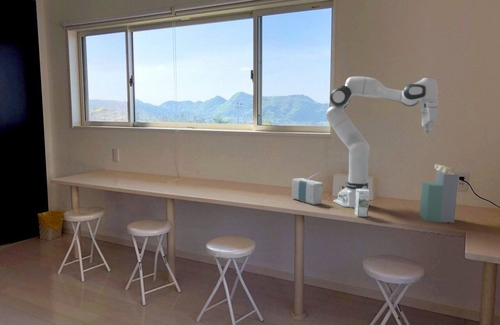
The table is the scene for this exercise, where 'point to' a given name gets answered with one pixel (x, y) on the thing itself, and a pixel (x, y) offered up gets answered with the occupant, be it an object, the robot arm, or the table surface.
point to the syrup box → (362, 202)
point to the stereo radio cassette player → (307, 190)
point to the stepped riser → (439, 198)
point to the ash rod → (445, 169)
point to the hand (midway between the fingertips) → (428, 132)
